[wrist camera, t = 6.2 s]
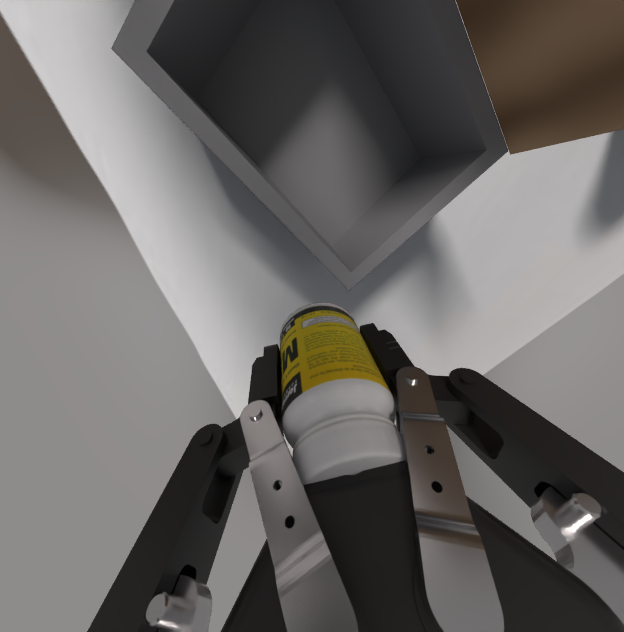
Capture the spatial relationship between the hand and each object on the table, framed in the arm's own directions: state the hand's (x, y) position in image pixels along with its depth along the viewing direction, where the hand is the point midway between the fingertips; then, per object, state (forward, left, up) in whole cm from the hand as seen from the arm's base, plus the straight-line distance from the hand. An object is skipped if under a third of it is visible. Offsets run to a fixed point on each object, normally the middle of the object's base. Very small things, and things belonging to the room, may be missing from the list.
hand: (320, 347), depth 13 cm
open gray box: (-7, +10, -18) cm, 22 cm away
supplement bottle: (0, 0, -2) cm, 2 cm away
